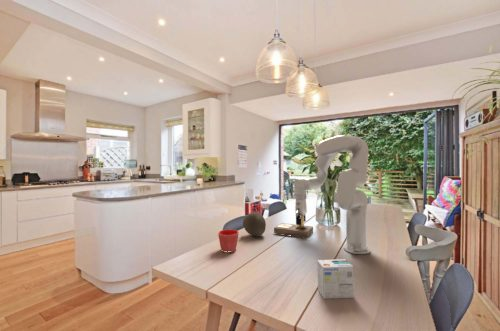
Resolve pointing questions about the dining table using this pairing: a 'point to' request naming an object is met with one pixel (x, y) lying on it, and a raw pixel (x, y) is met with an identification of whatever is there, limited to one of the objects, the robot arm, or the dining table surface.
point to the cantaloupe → (254, 224)
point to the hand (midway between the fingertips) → (300, 223)
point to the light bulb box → (335, 278)
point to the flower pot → (228, 239)
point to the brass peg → (301, 223)
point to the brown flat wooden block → (293, 230)
